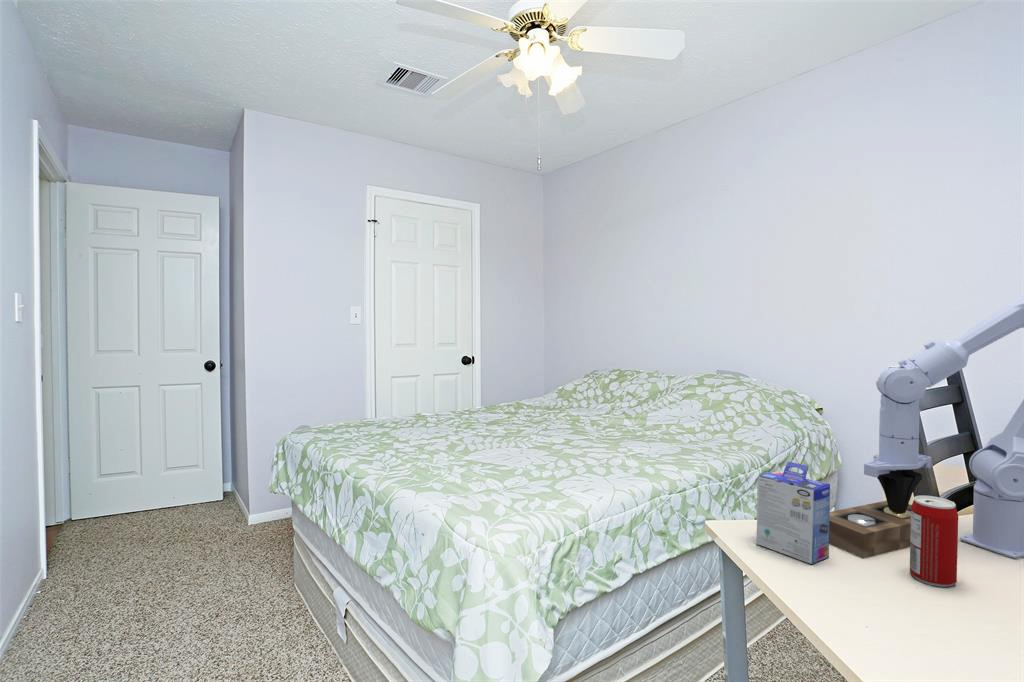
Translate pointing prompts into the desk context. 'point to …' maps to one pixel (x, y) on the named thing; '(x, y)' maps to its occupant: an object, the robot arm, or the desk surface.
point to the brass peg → (901, 515)
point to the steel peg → (861, 519)
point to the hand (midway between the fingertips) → (897, 511)
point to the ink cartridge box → (793, 514)
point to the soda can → (934, 541)
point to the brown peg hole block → (869, 530)
